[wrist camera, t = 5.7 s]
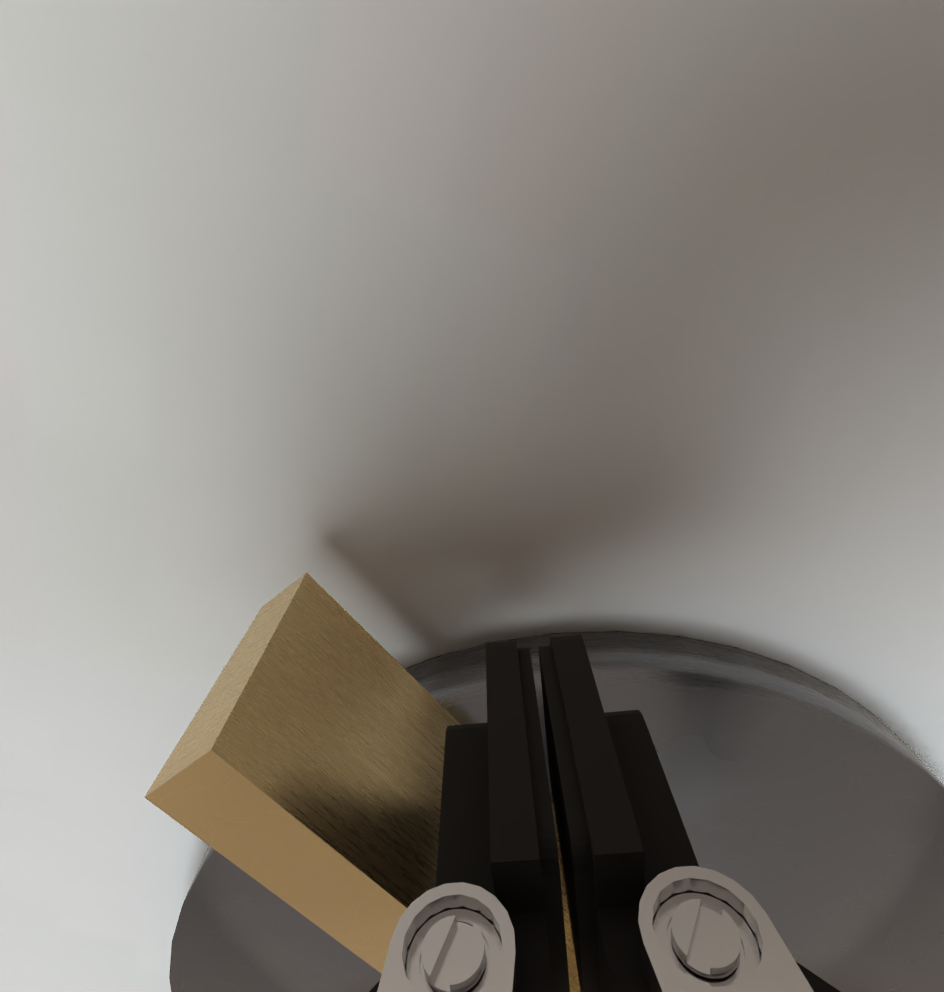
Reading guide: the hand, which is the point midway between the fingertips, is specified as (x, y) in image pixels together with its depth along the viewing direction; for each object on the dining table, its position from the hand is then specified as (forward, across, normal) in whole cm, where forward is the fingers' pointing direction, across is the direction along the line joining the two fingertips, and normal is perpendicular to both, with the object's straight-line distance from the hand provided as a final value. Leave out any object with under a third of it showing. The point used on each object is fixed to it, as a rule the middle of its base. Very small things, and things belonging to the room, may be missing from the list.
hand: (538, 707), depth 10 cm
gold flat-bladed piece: (+2, +1, +3) cm, 4 cm away
